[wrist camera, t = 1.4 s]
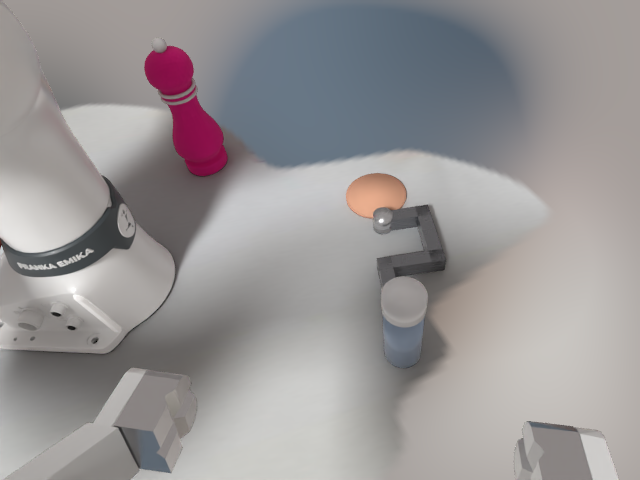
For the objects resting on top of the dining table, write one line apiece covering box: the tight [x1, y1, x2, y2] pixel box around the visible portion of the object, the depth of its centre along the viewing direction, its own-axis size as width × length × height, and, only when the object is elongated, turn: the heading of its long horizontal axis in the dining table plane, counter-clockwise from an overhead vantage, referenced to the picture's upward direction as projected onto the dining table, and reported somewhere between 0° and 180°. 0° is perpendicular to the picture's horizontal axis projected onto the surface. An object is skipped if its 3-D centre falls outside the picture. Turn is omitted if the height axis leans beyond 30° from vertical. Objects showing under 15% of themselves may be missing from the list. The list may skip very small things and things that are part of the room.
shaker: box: [381, 276, 428, 368], centre depth 44 cm, size 4×4×11 cm
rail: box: [373, 205, 446, 288], centre depth 54 cm, size 8×15×2 cm, turn 5°
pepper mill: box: [144, 38, 228, 176], centre depth 64 cm, size 7×7×20 cm
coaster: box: [346, 173, 406, 218], centre depth 62 cm, size 8×8×1 cm
